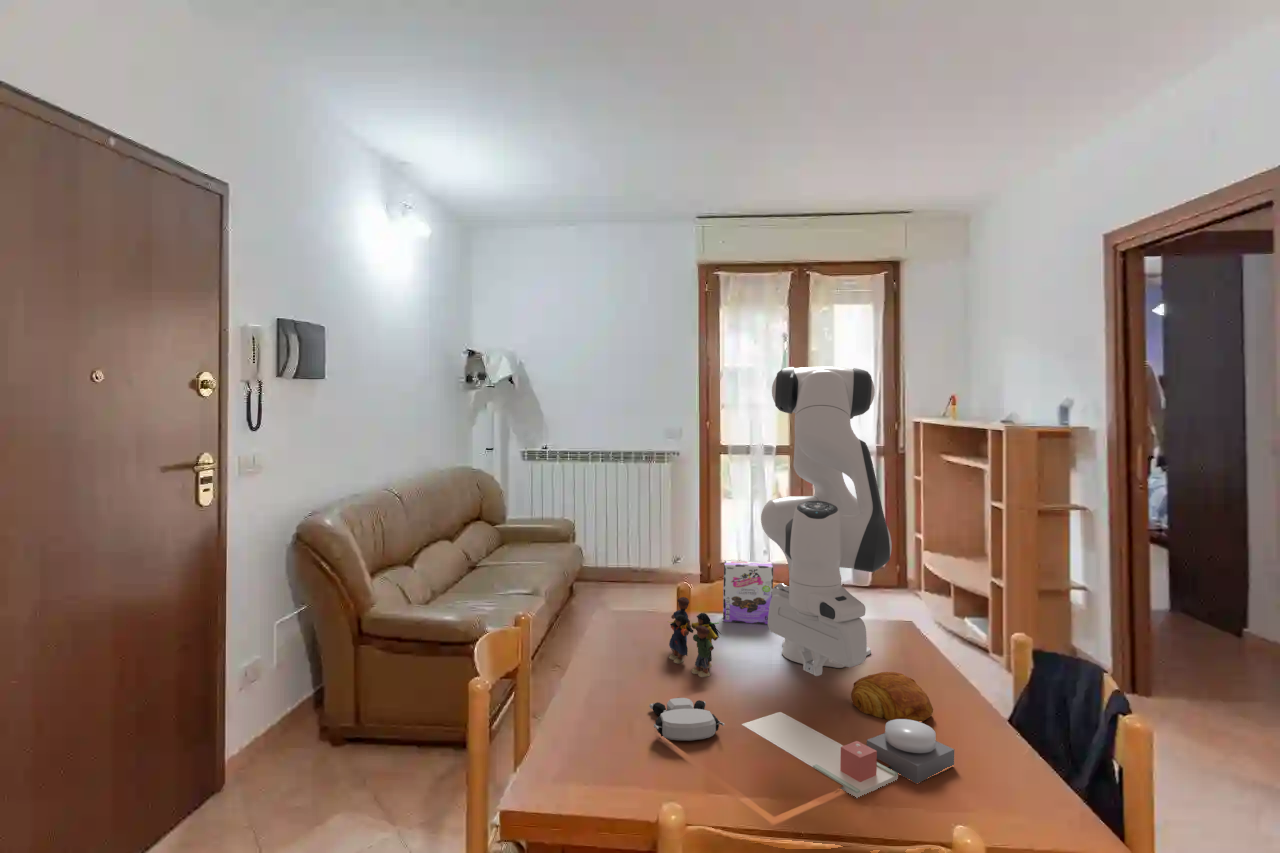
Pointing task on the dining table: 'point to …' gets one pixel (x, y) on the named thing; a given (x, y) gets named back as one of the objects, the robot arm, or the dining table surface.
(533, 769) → the dining table surface
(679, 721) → the robot toy
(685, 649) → the doll family
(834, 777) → the board
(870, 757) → the red die
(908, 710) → the croissant
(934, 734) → the dome plunger
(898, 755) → the base
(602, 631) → the dining table surface
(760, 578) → the candy box
